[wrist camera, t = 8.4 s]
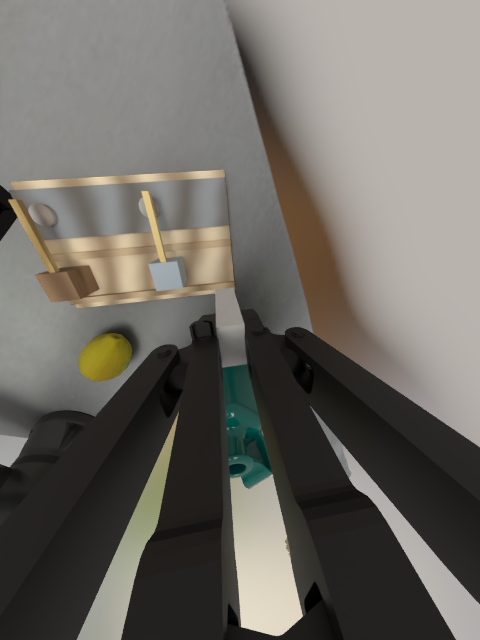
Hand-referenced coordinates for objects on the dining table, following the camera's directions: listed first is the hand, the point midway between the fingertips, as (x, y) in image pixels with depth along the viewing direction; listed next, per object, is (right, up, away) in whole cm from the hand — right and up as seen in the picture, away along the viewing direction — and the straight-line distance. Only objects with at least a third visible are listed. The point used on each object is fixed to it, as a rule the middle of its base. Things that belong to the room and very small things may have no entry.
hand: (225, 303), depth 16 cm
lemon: (-24, -6, +22) cm, 33 cm away
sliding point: (-10, +11, +13) cm, 20 cm away
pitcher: (-2, -12, +28) cm, 30 cm away
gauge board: (-14, +11, +14) cm, 23 cm away
